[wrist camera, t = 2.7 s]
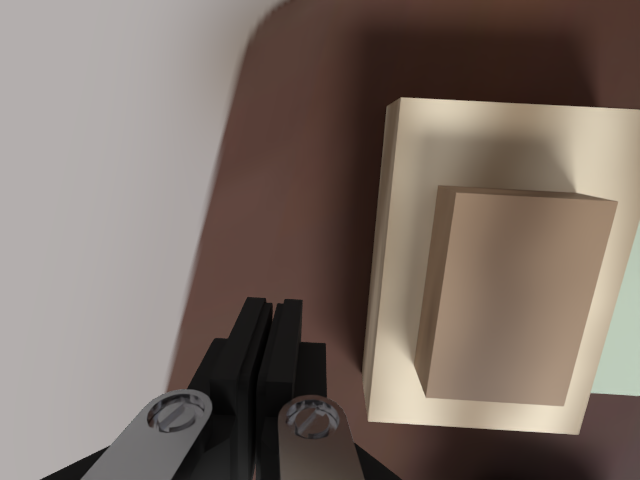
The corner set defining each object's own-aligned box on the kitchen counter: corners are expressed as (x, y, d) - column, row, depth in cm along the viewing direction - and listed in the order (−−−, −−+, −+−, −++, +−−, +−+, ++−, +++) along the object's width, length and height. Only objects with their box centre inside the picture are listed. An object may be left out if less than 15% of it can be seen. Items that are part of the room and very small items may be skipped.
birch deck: (601, 117, 19) (670, 111, 15) (537, 385, 23) (578, 434, 19) (386, 106, 19) (400, 97, 15) (361, 374, 23) (367, 421, 19)
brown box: (576, 192, 16) (618, 201, 14) (534, 372, 18) (563, 406, 16) (438, 185, 16) (456, 192, 14) (413, 365, 18) (425, 397, 16)
